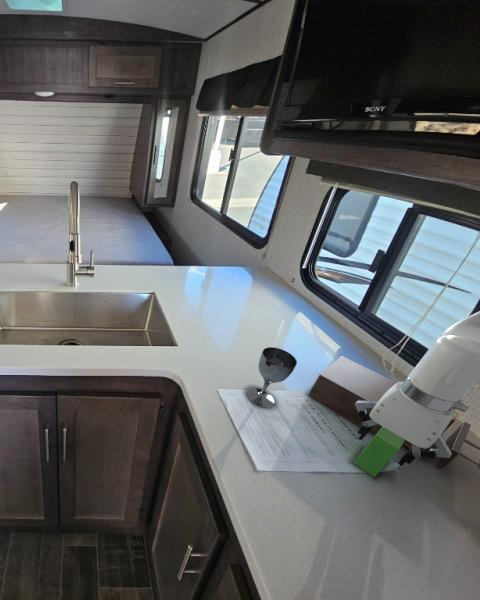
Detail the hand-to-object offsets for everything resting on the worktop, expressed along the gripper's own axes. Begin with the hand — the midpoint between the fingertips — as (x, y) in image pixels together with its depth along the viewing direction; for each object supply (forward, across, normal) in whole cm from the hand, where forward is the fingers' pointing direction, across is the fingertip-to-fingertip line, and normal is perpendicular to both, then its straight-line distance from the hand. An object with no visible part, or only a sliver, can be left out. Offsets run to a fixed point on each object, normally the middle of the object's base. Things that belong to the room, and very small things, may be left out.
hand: (381, 448), depth 72 cm
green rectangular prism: (+5, 0, 0) cm, 5 cm away
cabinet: (+5, +10, -17) cm, 20 cm away
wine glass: (+5, +25, +3) cm, 26 cm away
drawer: (+4, -5, -17) cm, 18 cm away
